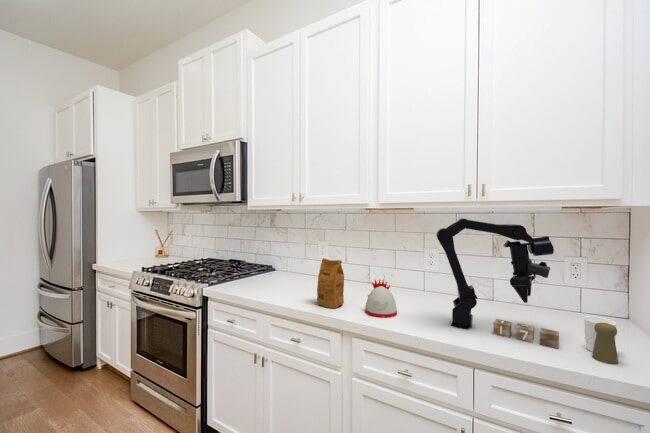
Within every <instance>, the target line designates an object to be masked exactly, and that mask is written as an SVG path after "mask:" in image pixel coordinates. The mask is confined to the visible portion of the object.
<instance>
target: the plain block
mask: <svg viewBox="0 0 650 433" xmlns="http://www.w3.org/2000/svg"><path fill="white" fill-rule="evenodd" d="M559 341H560V331H558V330H553V329H548V328H543V327H541V328H540V330H539V346H543V347H547V348H551V349H556V350H559V345H560V342H559Z"/></svg>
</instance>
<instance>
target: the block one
mask: <svg viewBox="0 0 650 433" xmlns="http://www.w3.org/2000/svg"><path fill="white" fill-rule="evenodd" d="M492 330H493V335H495V336H499V337H505V338H508V339H509V338H510V337H511V336H512V321H511V320H509V321H508V320H503V319H499V318H495V320H494V321H493V329H492Z"/></svg>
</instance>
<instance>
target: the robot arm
mask: <svg viewBox="0 0 650 433" xmlns="http://www.w3.org/2000/svg"><path fill="white" fill-rule="evenodd" d="M465 229H466V230H472V231H477V232H478V231H479V232H485V233H490V234H496V235H498V236H502V237H504V238H507V240H506V241H505V243H503V244H502V246H503V247H504V248H509V252H510V258H511V261H510V264H511V265H512V270H513V272H512V276H511V278H510V279H509V284H510V286H511V288H512V287H513V289H514V291H515V292H516V293H517V295H518V297H519V298H520V299H521V301H522V302H523V303H525V304H527V303H529V301H528V299H529V297H531V296H532V295H531V294H532V284H533V283H532V282H533V281H534V280H535V279H536V278H537V276H541V277H542V278H545V279H548V278H549V274H550V270H551V267H550V266H549V265H548V264H547V262H545V261H540V262H539V263H533V261H532V259H531V258H530V254H531V255H532V256H533V257H539V256H550V255H553V254H554V253H555V250H554V245H553V243H552V241H551V240H550V236H547V235H543V236H539V237H532V236H531V235H530V234H529V233H528V232H527V229H526V228H525V226H523V225H521V224H514V223H512V224H511V223H508V224H507V223H504V224H503V223H502V224H501V223H500V224H499V223H497V224H496V223H489V222H486V221H485V222H484V221H478V220H472V219H467V218H463V217H461V218H459V219H458V220H457V221H455V222H453V223H452V224H450V225H449V226H447V227H446V228H445V227H442V228H439V229H438V230H437V232H436V239H437V240H438V242H439V244H440V245H441V247H442V249H443V251H444V252H445V255H446V258H447V260H448V264H449V268H450V269H451V272H452V275H453V278H454V280H455V283H456V288H457V289H456V290H457V297H456V298H455V299H453V300H452V303H453V306H454V307H453V308H452V312H451V314H452V316H451V319H452V320H451V323H450V326H452V327H456V328H459V329H460V328H461V329H464V330H465V329H466V330H469V329H470V328H471V327H472V326H473V319H474V318H473V317H474V315H473V314H472V309H475V307H476V305H477V304H478V302H477V301H478V299H479V298H478V297H477V295H476V291H475V288H474V286H473V284H470V285H468V283H467V280H466V276H465V275H464V272H463V269H462V267H461V264H460V260H459V257H458V256H457V255H458V254H457V253H456V250H455V243H454V242H455V241H454V237H455V236H457V235H458V234H459V233H460V232H462V231H464V230H465ZM508 239H512V240H514V241H510V240H508ZM521 241H522V242H521Z"/></svg>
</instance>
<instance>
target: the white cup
mask: <svg viewBox="0 0 650 433" xmlns="http://www.w3.org/2000/svg"><path fill="white" fill-rule="evenodd" d="M599 322H602V323H608V324H611V325H613V326H615V327H616V328H617V322H616V321H614V320H612V319H609V318H604V317H600V316H593V315H591V316H590V315H589V316H588V315H587V316H584V317H583V323H584V324H583V325H584V326H583V327H584V339H585V349H587V350H588V351H590V352H592V353H593V349H594V344H595V339H596V334H597V333H596V331H595V329H594V326H595V324H596V323H599Z"/></svg>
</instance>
